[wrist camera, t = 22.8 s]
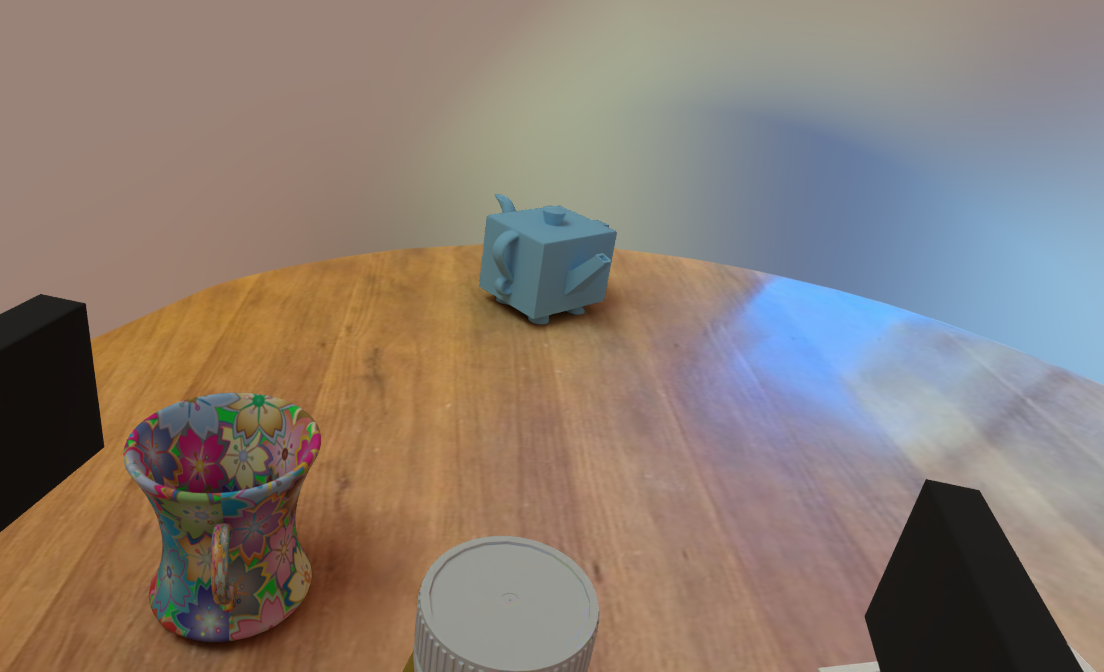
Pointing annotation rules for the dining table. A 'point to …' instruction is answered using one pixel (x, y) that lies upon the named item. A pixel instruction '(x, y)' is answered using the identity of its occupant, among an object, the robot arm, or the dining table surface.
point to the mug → (226, 511)
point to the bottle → (504, 610)
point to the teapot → (545, 260)
